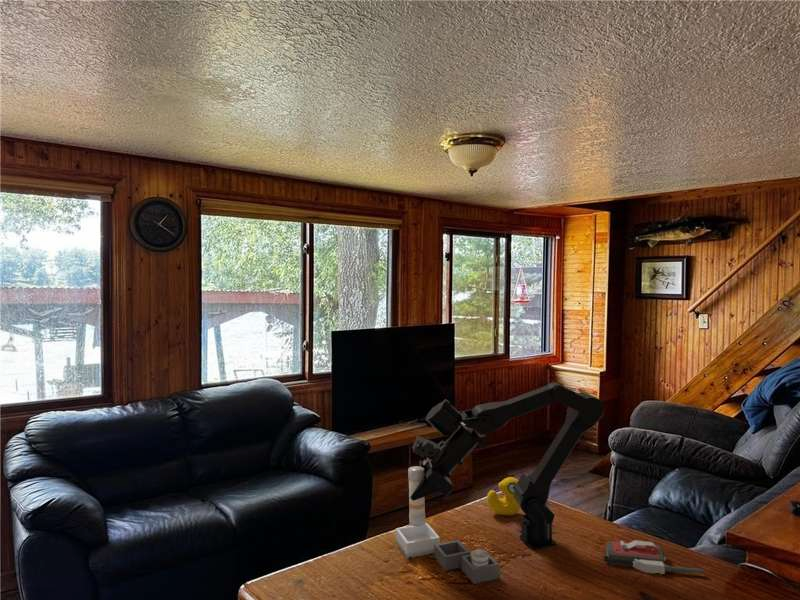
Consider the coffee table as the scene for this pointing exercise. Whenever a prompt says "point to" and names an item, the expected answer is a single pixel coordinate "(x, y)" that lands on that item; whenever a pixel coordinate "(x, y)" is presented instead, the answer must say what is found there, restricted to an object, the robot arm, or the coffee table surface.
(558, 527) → the coffee table surface
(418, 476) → the white bulb-shaped piece
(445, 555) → the grey square frame
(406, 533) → the tray
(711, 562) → the coffee table surface
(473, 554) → the white dome piece
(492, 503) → the duckling
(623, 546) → the toy chainsaw
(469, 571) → the grey boxy piece
